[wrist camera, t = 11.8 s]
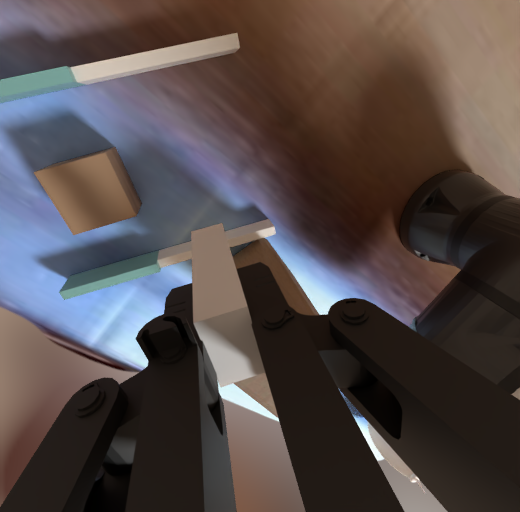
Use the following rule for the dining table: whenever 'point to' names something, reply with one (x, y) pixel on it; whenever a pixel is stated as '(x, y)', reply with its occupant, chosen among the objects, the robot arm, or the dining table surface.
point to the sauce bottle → (392, 456)
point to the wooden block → (294, 297)
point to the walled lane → (111, 70)
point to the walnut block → (91, 190)
